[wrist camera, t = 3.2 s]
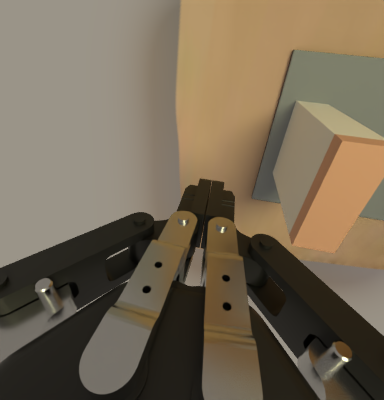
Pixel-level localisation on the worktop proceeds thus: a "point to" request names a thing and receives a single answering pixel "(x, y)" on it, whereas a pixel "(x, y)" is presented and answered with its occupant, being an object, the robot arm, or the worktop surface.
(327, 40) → the worktop surface
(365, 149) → the cream and orange block
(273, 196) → the slate mat
